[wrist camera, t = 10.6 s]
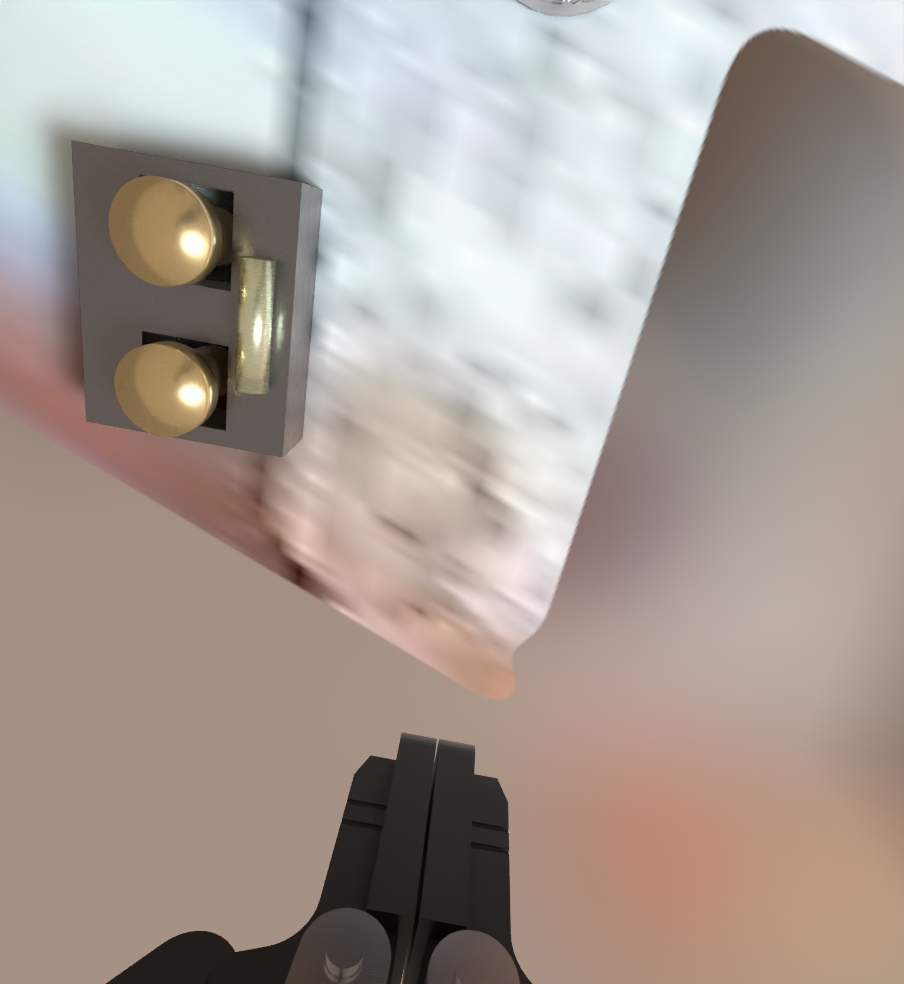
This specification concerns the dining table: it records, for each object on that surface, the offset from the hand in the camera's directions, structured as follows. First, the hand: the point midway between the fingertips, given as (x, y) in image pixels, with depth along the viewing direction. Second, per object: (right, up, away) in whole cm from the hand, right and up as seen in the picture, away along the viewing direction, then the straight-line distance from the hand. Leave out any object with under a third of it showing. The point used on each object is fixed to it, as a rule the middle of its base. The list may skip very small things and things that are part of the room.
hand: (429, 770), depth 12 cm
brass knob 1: (-13, +21, +24) cm, 35 cm away
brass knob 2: (-15, +13, +27) cm, 34 cm away
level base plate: (-14, +17, +26) cm, 34 cm away
